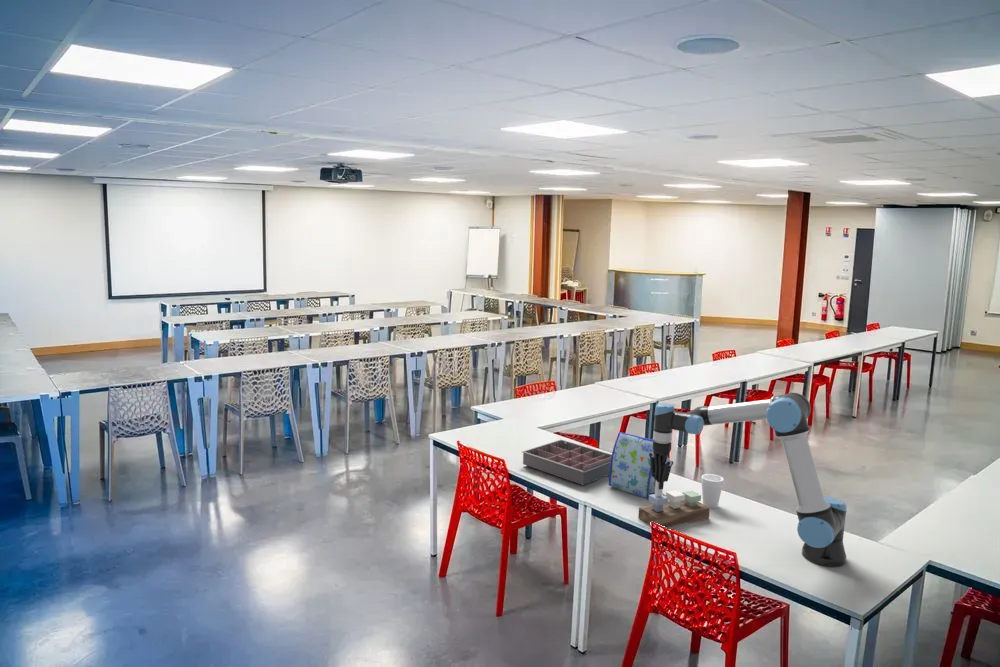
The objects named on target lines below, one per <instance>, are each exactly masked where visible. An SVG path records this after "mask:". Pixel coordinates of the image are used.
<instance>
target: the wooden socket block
mask: <svg viewBox="0 0 1000 667" xmlns="http://www.w3.org/2000/svg"><path fill="white" fill-rule="evenodd" d="M669 505H670V500H668V504H663V511H660V512H656V511H654V510H653V504H649V505H644V506H639V507H638V517H637V518H638V519H639V520H640V521H642V522H644V523H645V524H647V525H649V526H650V522H651V521H653V522H655V523H658V524H660V525H662V526H665V527H667V528H671V527H676V526H681V525H685V524H690V523H696V522H701V521H705V520H710V510H711V508H709V507H707V506H706V505H704V504H703V502H701V501H697V502H696V506H692V507H690V506H688V505H687V504H686V500H685V501H680V508H676V509H674V508H672V507H670V506H669Z"/></svg>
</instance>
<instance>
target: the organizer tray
mask: <svg viewBox="0 0 1000 667" xmlns="http://www.w3.org/2000/svg"><path fill="white" fill-rule="evenodd" d="M521 453H523V454H522V455H523V456H522V458H523V459H522V461H523V462H522V464H523V465H525V466H528V467H531V468H533V469H535V470H538V471H542V472H545V473H547V474H549V475H553V476H556V477H560V478H563V479H565V480H567V481H570V482H573V483H577V484H580V485H581V486H584V485H586V484H589V483H592V482H594V481H597V480H600V479H601V478H604V477H606V476H609V470H610V463H611V457H612V453H608V452H605V451H602V450H599V449H594V448H591V447H588V446H585V445H581V444H577V443H574V442H571V441H567V440H565V439H558V440H554V441H552V442H548V443H544V444H542V445H539V446H536V447H532V448H529V449H526V450H523V451H521Z"/></svg>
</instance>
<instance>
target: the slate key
mask: <svg viewBox="0 0 1000 667" xmlns="http://www.w3.org/2000/svg"><path fill="white" fill-rule="evenodd" d="M648 501H649V502H650V503H651V504H652V505H653V510H654V511H656V512H660V511H663V504H668V502H669V499H668V498H667V497H666V495H663V494H662V496H658V497H657V496H655V494H652V495H649V499H648Z"/></svg>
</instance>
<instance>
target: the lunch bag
mask: <svg viewBox="0 0 1000 667" xmlns="http://www.w3.org/2000/svg"><path fill="white" fill-rule="evenodd" d="M653 441H654V440H653V438H647V437H644V436H639V435H635V434H630V433H626V432H621V431H619V432H618V433H617V437H616V439H615V442H614V445H613V447H612V451H611V452H612V453H611V454H612V457H611V463H610V470H609V475H608V487H611V488H614V489H617V490H621V491H624V492H626V493H630V494H632V495H636V496H638V497H642V498H645V499H647V500H649V495H652V494H655V479H654V477H652V473H651V461H650V456H649V453H653V451H654V450H653V448H652V447H653ZM654 474H655V473H654Z"/></svg>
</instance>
